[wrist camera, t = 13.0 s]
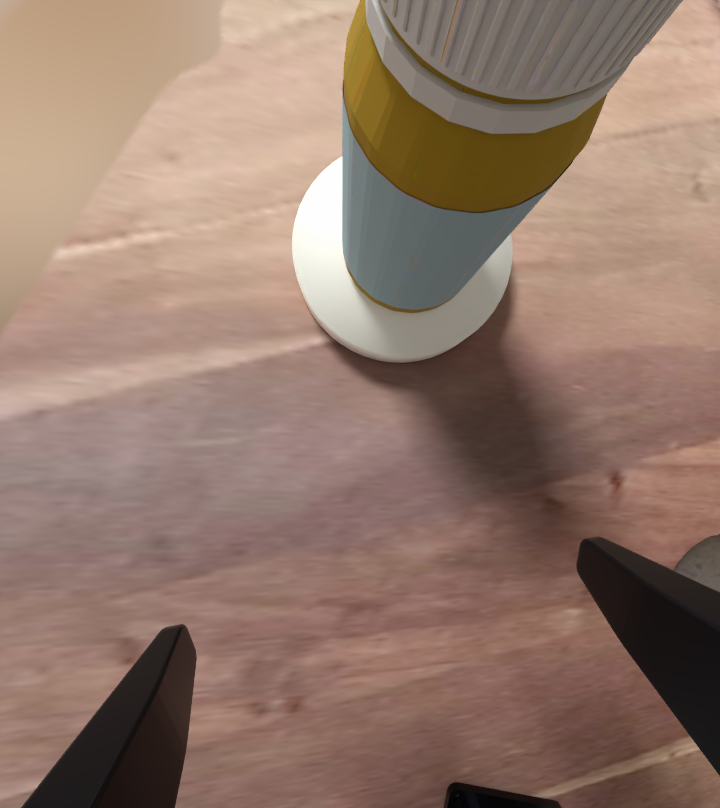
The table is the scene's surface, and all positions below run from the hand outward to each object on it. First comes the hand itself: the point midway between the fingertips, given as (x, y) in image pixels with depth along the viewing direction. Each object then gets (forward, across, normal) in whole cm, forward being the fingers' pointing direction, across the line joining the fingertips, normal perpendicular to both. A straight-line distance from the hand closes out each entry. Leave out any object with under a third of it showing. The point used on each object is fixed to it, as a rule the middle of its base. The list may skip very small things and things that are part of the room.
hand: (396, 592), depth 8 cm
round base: (+17, -5, -6) cm, 19 cm away
